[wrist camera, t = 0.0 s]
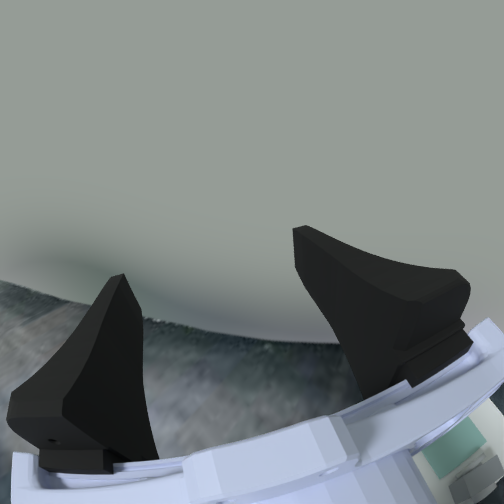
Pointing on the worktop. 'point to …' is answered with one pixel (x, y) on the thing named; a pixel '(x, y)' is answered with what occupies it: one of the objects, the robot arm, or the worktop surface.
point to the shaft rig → (466, 458)
